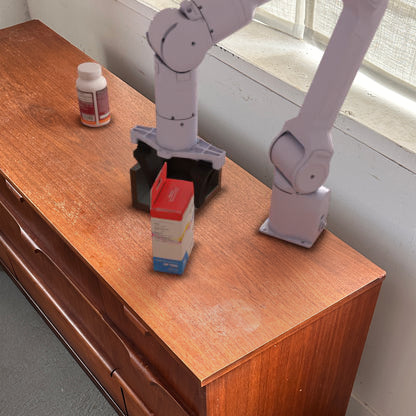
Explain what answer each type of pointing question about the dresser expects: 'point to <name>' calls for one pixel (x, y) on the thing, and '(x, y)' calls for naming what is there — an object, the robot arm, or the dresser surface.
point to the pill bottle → (92, 95)
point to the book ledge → (175, 170)
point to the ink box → (171, 223)
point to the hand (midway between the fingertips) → (177, 197)
